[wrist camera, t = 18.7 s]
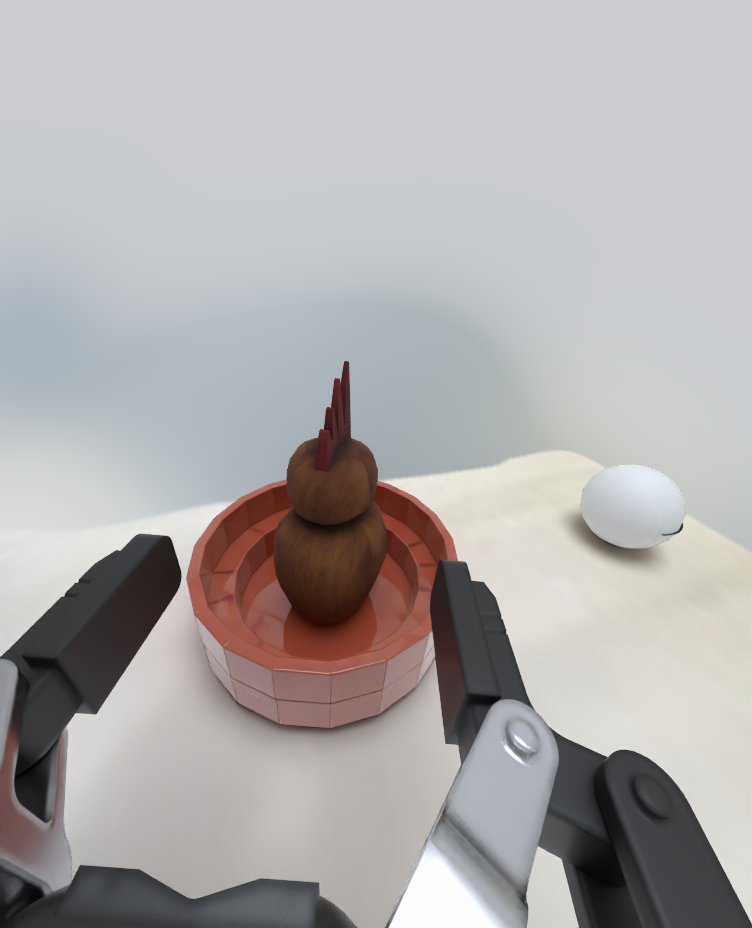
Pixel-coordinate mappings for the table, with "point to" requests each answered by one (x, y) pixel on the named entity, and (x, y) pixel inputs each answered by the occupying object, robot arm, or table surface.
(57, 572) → the table surface
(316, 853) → the table surface
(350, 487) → the wooden figurine
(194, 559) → the bowl
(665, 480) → the white oval solid
